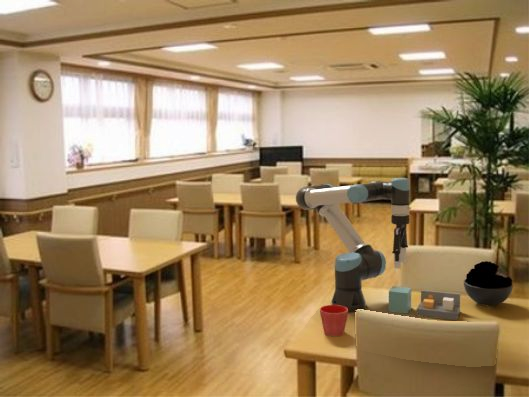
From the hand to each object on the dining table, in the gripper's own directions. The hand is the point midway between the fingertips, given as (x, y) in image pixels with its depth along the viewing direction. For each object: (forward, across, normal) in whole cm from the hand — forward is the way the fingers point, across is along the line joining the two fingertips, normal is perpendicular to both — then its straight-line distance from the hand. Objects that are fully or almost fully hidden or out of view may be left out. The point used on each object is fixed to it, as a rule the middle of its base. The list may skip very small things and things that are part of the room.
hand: (400, 265), depth 234 cm
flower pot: (+20, -36, +18) cm, 45 cm away
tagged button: (+19, 0, -12) cm, 23 cm away
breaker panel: (+20, 0, -16) cm, 25 cm away
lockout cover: (+20, 0, 0) cm, 20 cm away
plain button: (+18, 0, -20) cm, 27 cm away
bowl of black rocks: (+20, +20, -34) cm, 44 cm away
